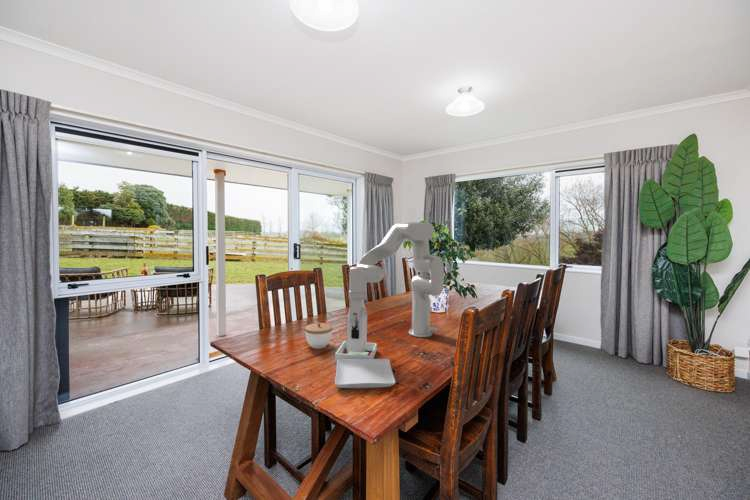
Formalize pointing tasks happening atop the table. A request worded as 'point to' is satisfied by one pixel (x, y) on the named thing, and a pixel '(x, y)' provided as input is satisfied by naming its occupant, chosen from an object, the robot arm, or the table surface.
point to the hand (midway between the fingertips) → (357, 335)
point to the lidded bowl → (318, 335)
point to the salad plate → (364, 373)
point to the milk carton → (360, 343)
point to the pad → (358, 353)
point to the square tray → (341, 356)
